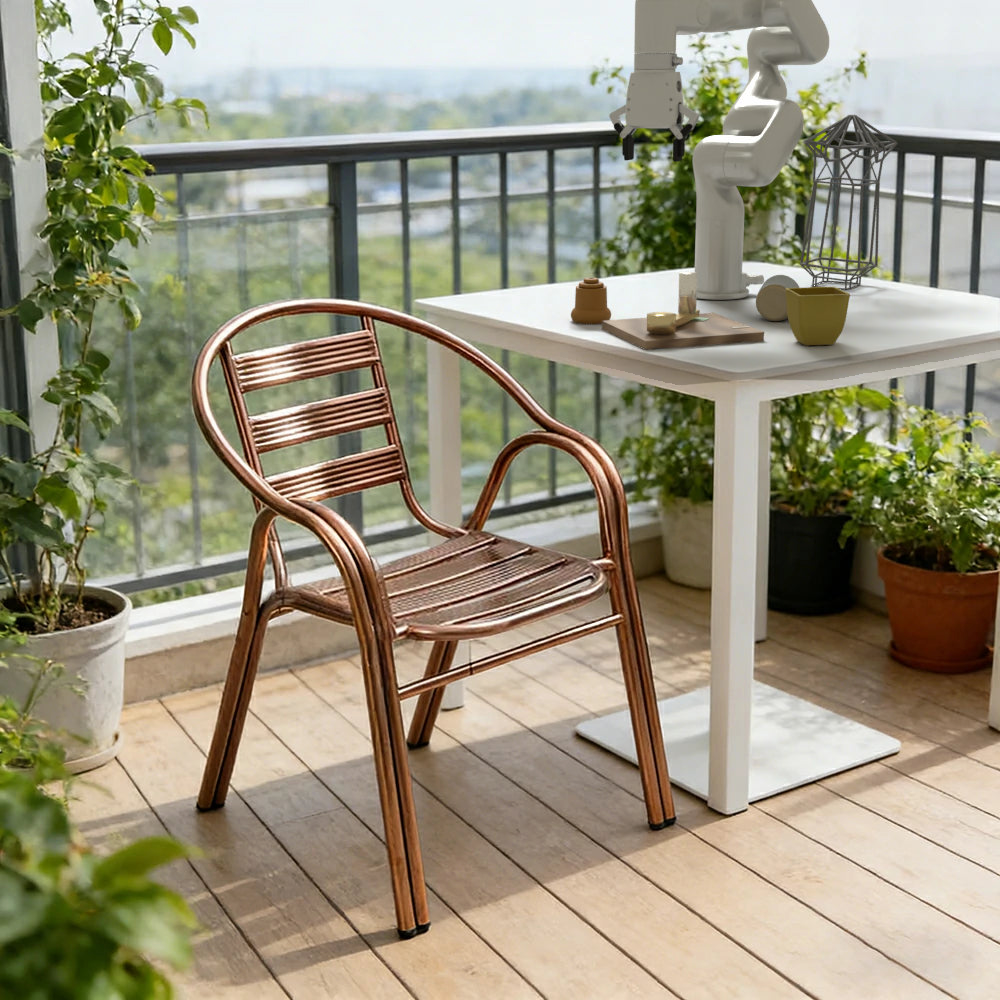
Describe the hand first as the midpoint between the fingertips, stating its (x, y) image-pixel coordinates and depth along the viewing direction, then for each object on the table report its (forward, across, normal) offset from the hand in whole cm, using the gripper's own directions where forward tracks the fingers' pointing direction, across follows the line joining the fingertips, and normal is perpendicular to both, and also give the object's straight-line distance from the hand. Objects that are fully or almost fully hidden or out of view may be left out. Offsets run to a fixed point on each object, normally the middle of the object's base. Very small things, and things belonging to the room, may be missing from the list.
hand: (653, 160), depth 263 cm
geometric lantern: (+28, -26, -44) cm, 58 cm away
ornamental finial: (+29, +6, +13) cm, 32 cm away
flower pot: (+28, -37, +17) cm, 50 cm away
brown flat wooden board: (+28, -13, +19) cm, 37 cm away
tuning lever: (+26, -13, +20) cm, 36 cm away
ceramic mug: (+29, -26, -3) cm, 38 cm away
